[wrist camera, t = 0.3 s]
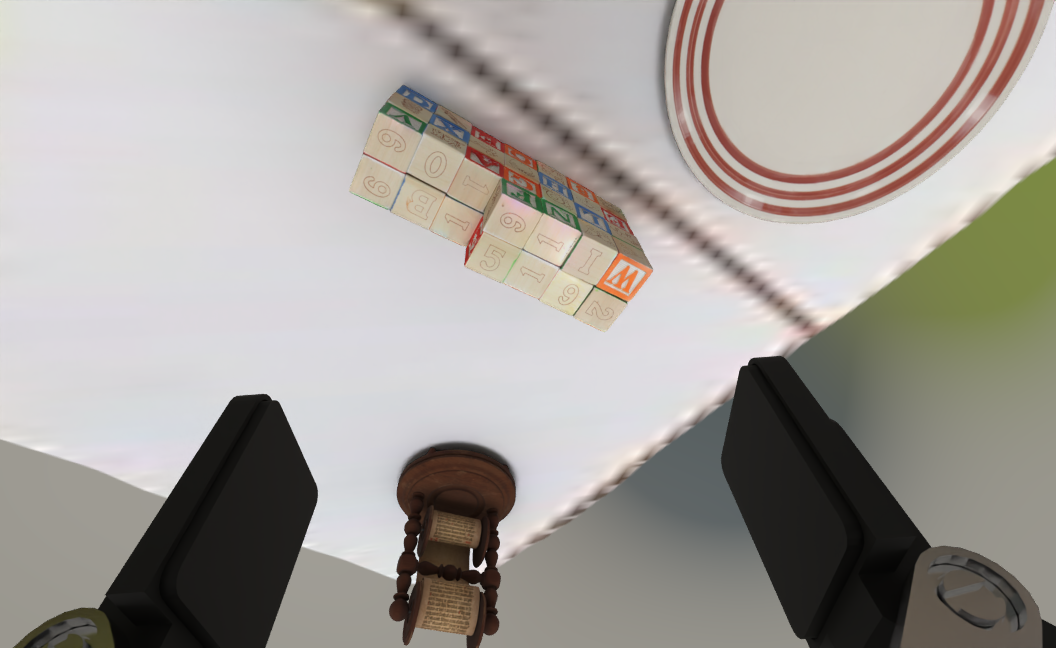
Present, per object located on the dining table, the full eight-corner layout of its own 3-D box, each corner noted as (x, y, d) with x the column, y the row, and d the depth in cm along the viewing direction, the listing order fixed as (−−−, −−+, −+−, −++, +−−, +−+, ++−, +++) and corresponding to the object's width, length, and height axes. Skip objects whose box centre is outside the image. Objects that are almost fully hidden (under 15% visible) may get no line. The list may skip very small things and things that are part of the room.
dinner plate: (584, 70, 41) (589, 77, 38) (911, -340, 29) (952, -373, 27) (786, 264, 51) (802, 281, 48) (1085, 15, 40) (1128, 18, 37)
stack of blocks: (373, 153, 44) (333, 207, 33) (402, 82, 41) (367, 117, 30) (585, 262, 50) (606, 335, 40) (623, 208, 47) (656, 272, 37)
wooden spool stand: (388, 503, 69) (351, 671, 52) (416, 428, 61) (384, 595, 45) (493, 525, 72) (489, 688, 55) (532, 456, 65) (542, 621, 48)
